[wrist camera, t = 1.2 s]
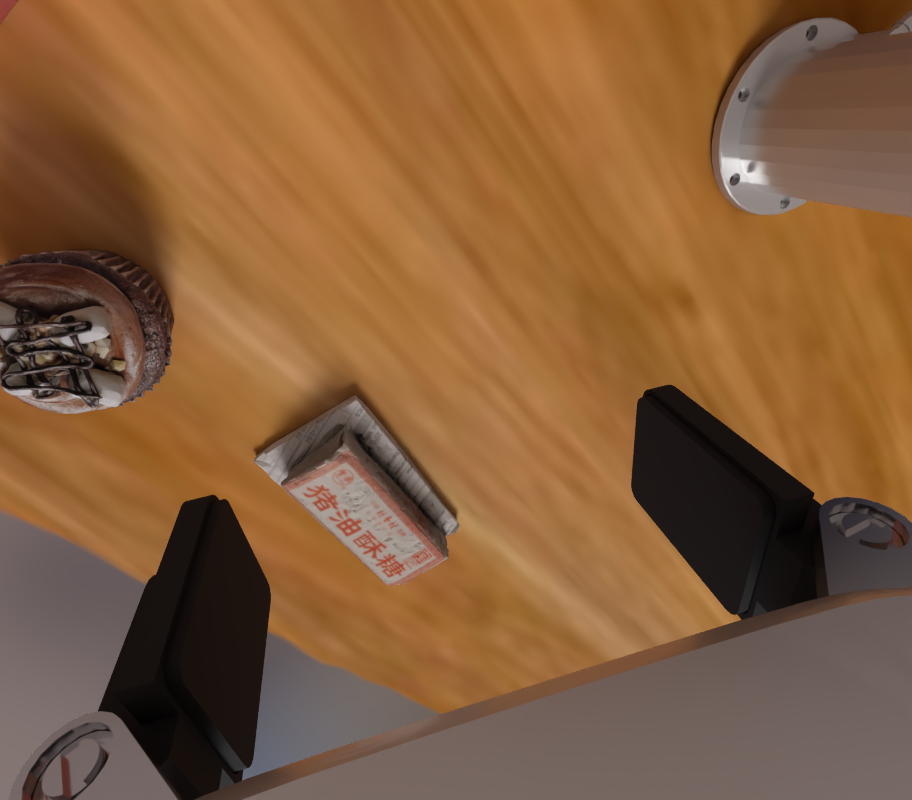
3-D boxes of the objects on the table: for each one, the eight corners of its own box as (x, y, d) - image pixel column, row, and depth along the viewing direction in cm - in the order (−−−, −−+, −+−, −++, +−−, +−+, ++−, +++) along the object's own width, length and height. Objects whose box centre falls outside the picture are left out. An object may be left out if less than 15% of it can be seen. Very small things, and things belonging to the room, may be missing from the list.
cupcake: (-15, 241, 29) (-152, 291, 21) (162, 228, 31) (104, 269, 23) (55, 384, 34) (-32, 472, 26) (206, 365, 36) (171, 442, 27)
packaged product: (472, 553, 45) (380, 607, 46) (459, 517, 50) (375, 567, 50) (359, 419, 36) (246, 489, 36) (355, 388, 40) (253, 451, 41)
